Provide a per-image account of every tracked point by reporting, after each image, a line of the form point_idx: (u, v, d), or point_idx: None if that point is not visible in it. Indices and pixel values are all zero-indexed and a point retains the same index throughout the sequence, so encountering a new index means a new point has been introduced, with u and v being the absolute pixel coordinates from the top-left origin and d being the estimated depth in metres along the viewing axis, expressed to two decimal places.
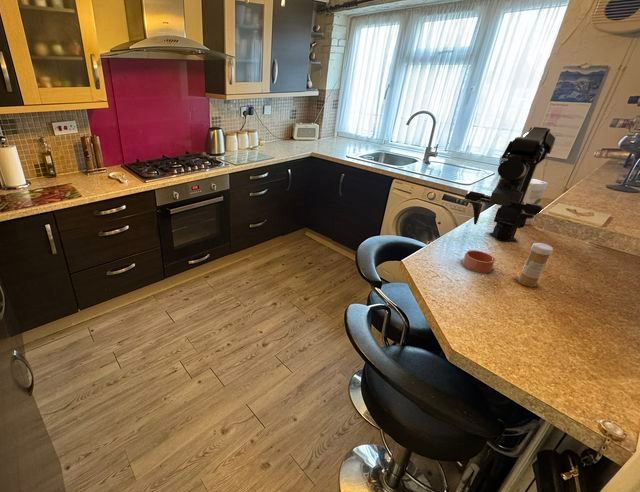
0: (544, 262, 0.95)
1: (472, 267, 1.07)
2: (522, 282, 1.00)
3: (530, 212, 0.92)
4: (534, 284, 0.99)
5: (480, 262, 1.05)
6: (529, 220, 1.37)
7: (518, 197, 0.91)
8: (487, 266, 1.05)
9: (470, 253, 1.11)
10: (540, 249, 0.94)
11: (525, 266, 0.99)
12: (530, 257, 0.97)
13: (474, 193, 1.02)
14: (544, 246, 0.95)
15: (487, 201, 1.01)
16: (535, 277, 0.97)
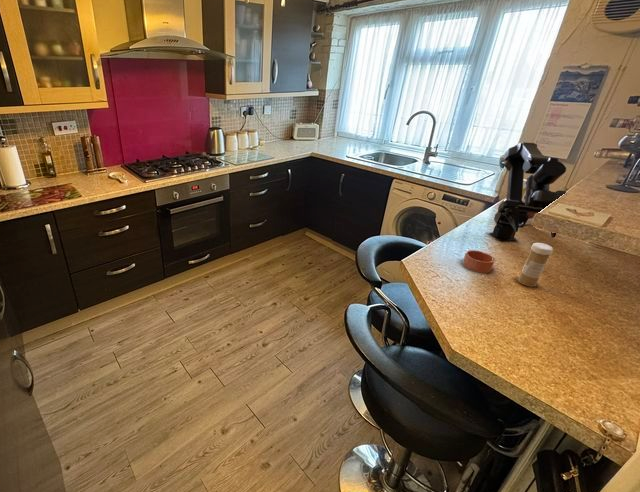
0: (544, 262, 0.95)
1: (472, 267, 1.07)
2: (522, 282, 1.00)
3: None
4: (534, 284, 0.99)
5: (480, 262, 1.05)
6: (529, 220, 1.37)
7: None
8: (487, 266, 1.05)
9: (470, 253, 1.11)
10: (540, 249, 0.94)
11: (525, 266, 0.99)
12: (530, 257, 0.97)
13: (511, 200, 1.05)
14: (544, 246, 0.95)
15: (522, 209, 1.05)
16: (535, 277, 0.97)
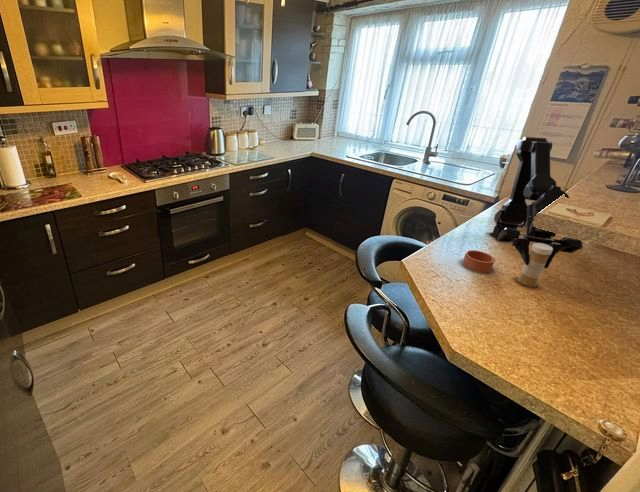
0: (544, 262, 0.95)
1: (472, 267, 1.07)
2: (522, 282, 1.00)
3: (574, 244, 0.93)
4: (534, 284, 0.99)
5: (480, 262, 1.05)
6: None
7: None
8: (487, 266, 1.05)
9: (470, 253, 1.11)
10: (540, 249, 0.94)
11: (525, 266, 0.99)
12: (530, 257, 0.97)
13: (512, 229, 1.00)
14: (544, 246, 0.95)
15: None
16: (535, 277, 0.97)
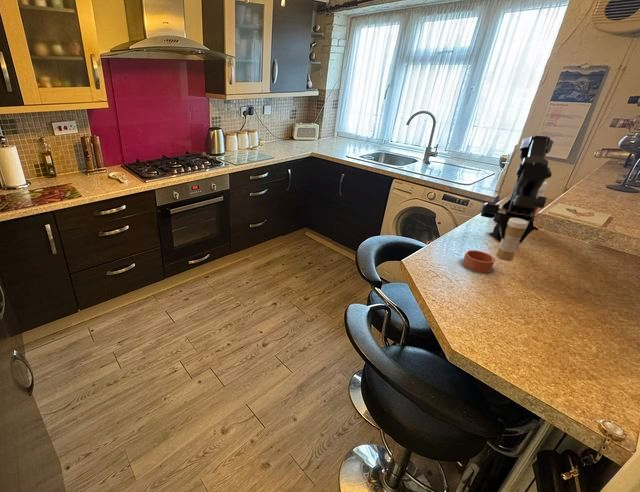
0: (518, 236, 0.97)
1: (472, 267, 1.07)
2: (498, 256, 1.02)
3: None
4: (509, 259, 1.01)
5: (480, 262, 1.05)
6: None
7: (543, 200, 0.93)
8: (487, 266, 1.05)
9: (470, 253, 1.11)
10: (514, 223, 0.96)
11: (501, 240, 1.01)
12: (506, 231, 0.99)
13: (492, 204, 1.03)
14: (519, 220, 0.97)
15: None
16: (510, 252, 1.00)
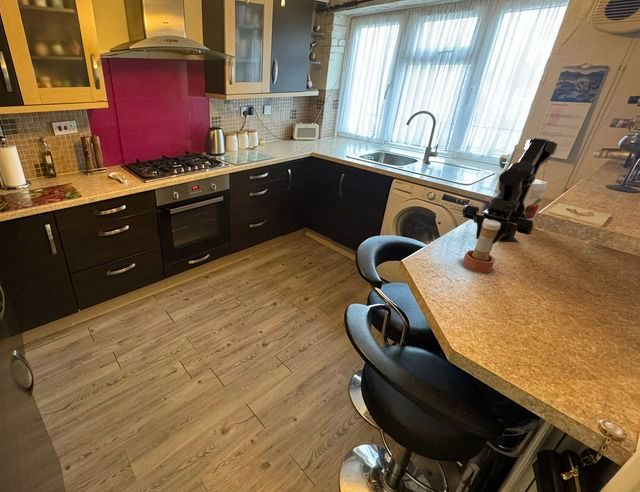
0: (491, 237, 1.03)
1: (472, 267, 1.07)
2: (473, 255, 1.08)
3: (523, 223, 0.98)
4: (483, 258, 1.06)
5: (480, 262, 1.05)
6: None
7: (515, 204, 0.98)
8: (487, 266, 1.05)
9: (470, 253, 1.11)
10: (486, 224, 1.02)
11: (477, 240, 1.07)
12: (480, 232, 1.05)
13: (472, 206, 1.09)
14: (493, 222, 1.02)
15: None
16: (483, 251, 1.05)
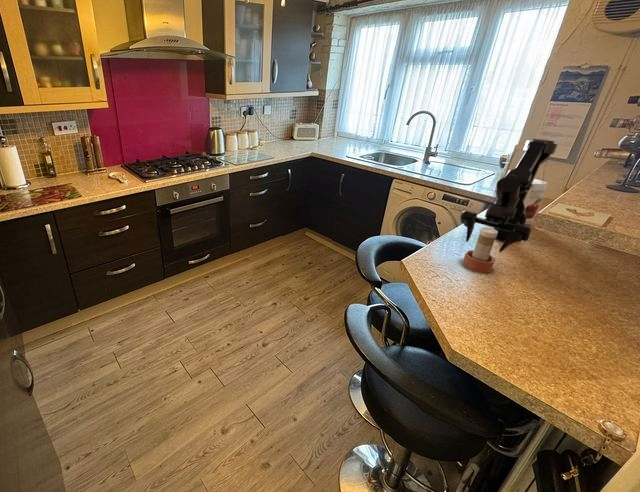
0: (488, 245, 1.04)
1: (472, 267, 1.07)
2: None
3: (521, 230, 0.99)
4: None
5: (480, 262, 1.05)
6: (529, 220, 1.37)
7: (513, 210, 0.99)
8: (487, 266, 1.05)
9: (470, 253, 1.11)
10: (483, 232, 1.04)
11: (474, 248, 1.08)
12: (478, 239, 1.07)
13: None
14: (490, 230, 1.04)
15: (480, 222, 1.09)
16: (480, 259, 1.06)
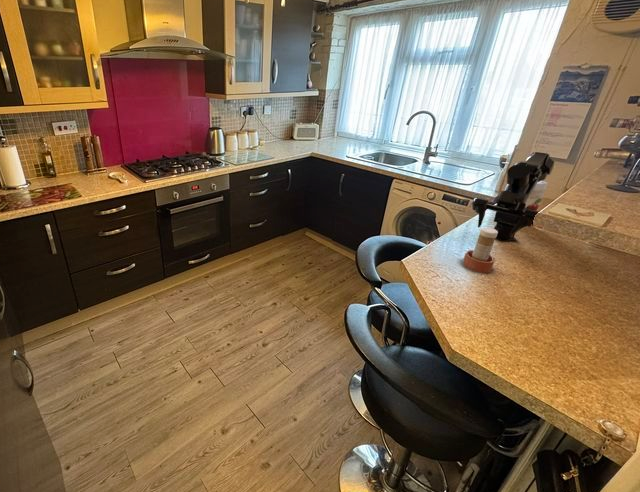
0: (488, 245, 1.04)
1: (472, 267, 1.07)
2: None
3: (531, 214, 1.05)
4: None
5: (480, 262, 1.05)
6: None
7: (523, 196, 1.04)
8: (487, 266, 1.05)
9: (470, 253, 1.11)
10: (483, 232, 1.04)
11: (474, 248, 1.08)
12: (478, 239, 1.07)
13: (481, 198, 1.15)
14: (490, 230, 1.04)
15: (491, 208, 1.14)
16: (480, 259, 1.06)
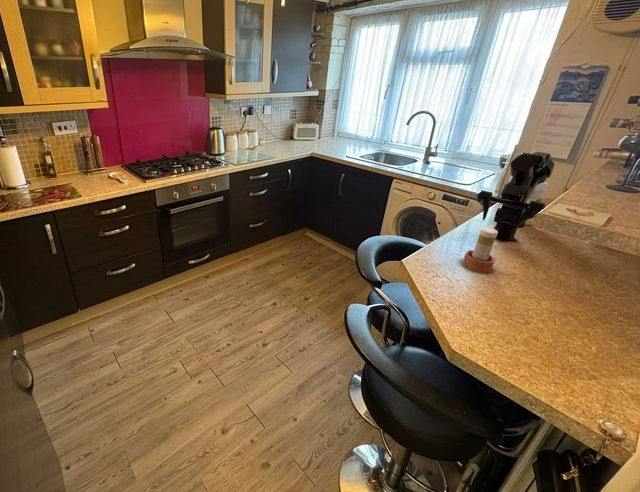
0: (488, 245, 1.04)
1: (472, 267, 1.07)
2: None
3: (535, 206, 1.05)
4: None
5: (480, 262, 1.05)
6: (529, 220, 1.38)
7: (527, 189, 1.05)
8: (487, 266, 1.05)
9: (470, 253, 1.11)
10: (483, 232, 1.04)
11: (474, 248, 1.08)
12: (478, 239, 1.07)
13: (485, 191, 1.16)
14: (490, 230, 1.04)
15: (496, 200, 1.15)
16: (480, 259, 1.06)
